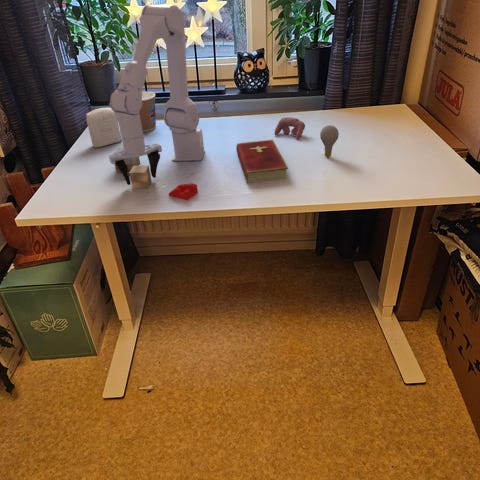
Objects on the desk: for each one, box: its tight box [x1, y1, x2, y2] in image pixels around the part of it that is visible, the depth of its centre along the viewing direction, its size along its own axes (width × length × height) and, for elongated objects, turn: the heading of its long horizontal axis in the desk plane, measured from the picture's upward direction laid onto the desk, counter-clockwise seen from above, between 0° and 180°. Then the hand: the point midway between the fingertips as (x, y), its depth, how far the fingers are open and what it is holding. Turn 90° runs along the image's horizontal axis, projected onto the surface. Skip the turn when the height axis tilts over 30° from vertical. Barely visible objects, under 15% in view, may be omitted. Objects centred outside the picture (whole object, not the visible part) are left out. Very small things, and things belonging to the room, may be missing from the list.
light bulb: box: [319, 124, 340, 158], centre depth 134 cm, size 5×6×10 cm
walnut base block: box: [114, 157, 141, 174], centre depth 137 cm, size 6×6×3 cm
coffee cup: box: [139, 91, 157, 132], centre depth 162 cm, size 10×10×12 cm
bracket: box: [168, 183, 199, 202], centre depth 121 cm, size 6×5×3 cm
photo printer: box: [85, 107, 122, 149], centre depth 151 cm, size 10×4×12 cm, turn 123°
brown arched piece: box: [274, 117, 306, 140], centre depth 152 cm, size 10×5×7 cm, turn 58°
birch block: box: [128, 164, 152, 189], centre depth 127 cm, size 4×4×5 cm
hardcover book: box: [236, 139, 289, 184], centre depth 134 cm, size 12×21×4 cm, turn 8°
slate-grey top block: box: [112, 146, 138, 164], centre depth 135 cm, size 6×6×3 cm
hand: (141, 180), depth 127 cm, fingers open, 7 cm apart
